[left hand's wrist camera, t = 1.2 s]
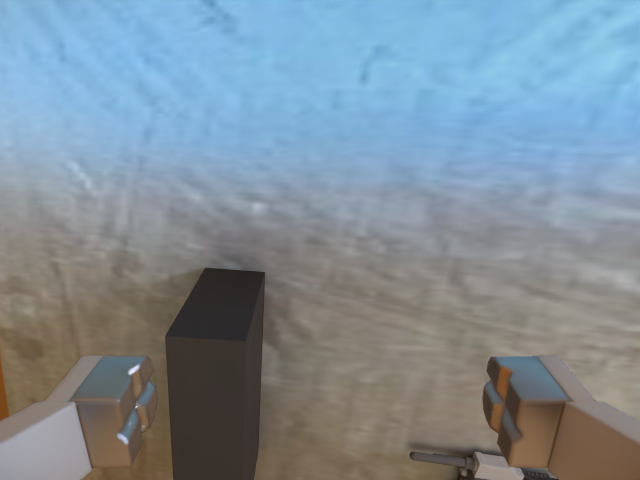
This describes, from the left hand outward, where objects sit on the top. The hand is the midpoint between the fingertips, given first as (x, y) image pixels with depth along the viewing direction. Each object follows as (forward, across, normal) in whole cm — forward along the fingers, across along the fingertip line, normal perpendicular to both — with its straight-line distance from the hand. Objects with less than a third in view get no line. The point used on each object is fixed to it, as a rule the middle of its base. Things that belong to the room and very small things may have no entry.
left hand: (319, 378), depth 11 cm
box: (+32, -10, -24) cm, 41 cm away
